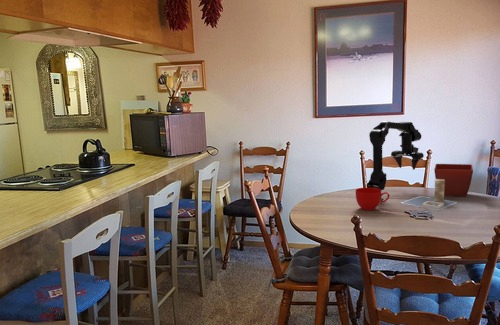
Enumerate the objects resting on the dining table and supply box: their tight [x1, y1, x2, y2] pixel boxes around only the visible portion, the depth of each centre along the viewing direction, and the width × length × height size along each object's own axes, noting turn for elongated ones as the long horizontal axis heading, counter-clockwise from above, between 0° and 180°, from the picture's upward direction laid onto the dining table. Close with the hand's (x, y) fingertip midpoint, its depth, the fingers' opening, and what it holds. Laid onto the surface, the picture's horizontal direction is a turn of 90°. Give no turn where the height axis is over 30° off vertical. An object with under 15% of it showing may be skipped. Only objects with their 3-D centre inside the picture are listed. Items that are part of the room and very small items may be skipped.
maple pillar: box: [433, 178, 445, 203], centre depth 207 cm, size 4×4×12 cm
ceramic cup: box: [355, 187, 390, 211], centre depth 204 cm, size 13×17×10 cm
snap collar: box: [422, 201, 444, 209], centre depth 201 cm, size 8×8×2 cm
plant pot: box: [434, 163, 474, 198], centre depth 224 cm, size 19×19×17 cm
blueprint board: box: [399, 195, 460, 212], centre depth 208 cm, size 22×22×1 cm
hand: (407, 168), depth 235 cm, fingers open, 9 cm apart
